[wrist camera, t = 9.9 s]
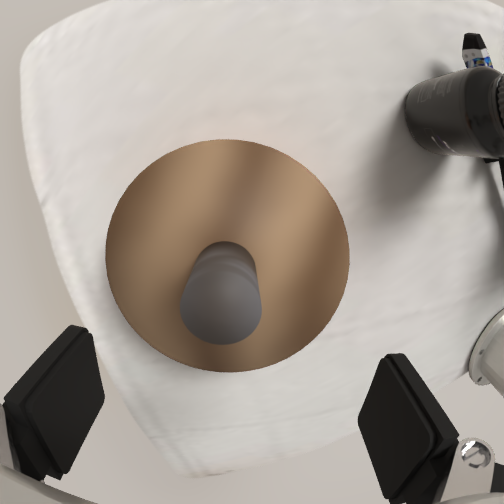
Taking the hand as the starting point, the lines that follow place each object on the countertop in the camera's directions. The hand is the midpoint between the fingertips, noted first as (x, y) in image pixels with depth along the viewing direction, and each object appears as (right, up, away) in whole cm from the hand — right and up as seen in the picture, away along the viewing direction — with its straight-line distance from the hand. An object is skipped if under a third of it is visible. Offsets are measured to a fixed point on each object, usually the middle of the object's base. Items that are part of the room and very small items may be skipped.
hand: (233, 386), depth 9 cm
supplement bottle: (+17, +16, +13) cm, 27 cm away
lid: (-1, +3, +10) cm, 11 cm away
